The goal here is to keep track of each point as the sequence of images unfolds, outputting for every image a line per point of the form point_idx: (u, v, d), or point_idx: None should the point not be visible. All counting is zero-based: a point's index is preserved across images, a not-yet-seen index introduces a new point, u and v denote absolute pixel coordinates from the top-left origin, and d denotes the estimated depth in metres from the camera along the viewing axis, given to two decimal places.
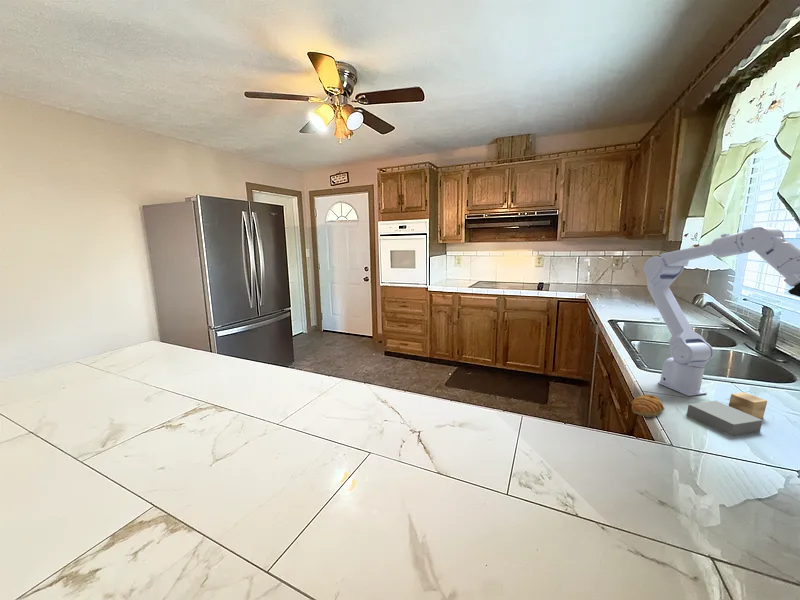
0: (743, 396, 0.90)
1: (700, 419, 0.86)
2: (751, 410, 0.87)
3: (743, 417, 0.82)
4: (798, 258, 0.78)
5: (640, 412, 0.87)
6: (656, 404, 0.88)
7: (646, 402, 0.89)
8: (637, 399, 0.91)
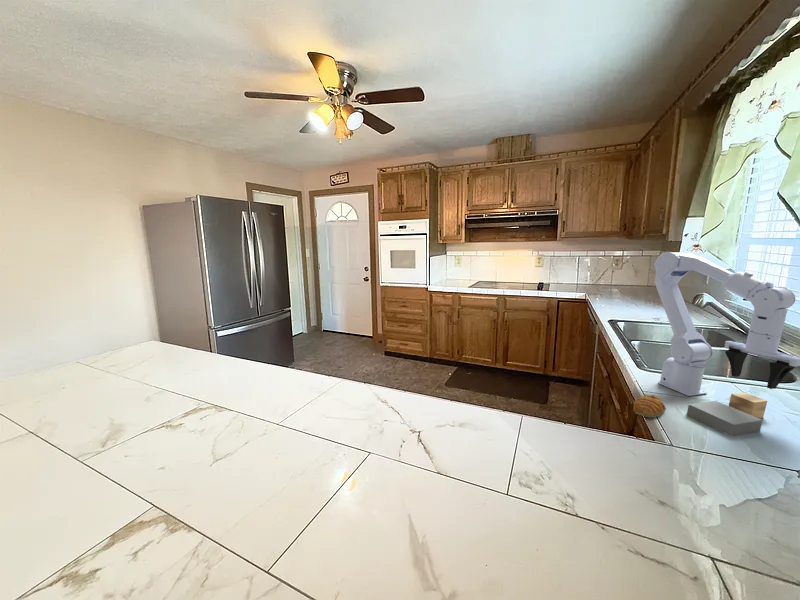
0: (743, 396, 0.90)
1: (700, 419, 0.86)
2: (751, 410, 0.87)
3: (743, 417, 0.82)
4: None
5: (641, 412, 0.87)
6: (658, 404, 0.88)
7: (647, 403, 0.89)
8: (639, 399, 0.91)
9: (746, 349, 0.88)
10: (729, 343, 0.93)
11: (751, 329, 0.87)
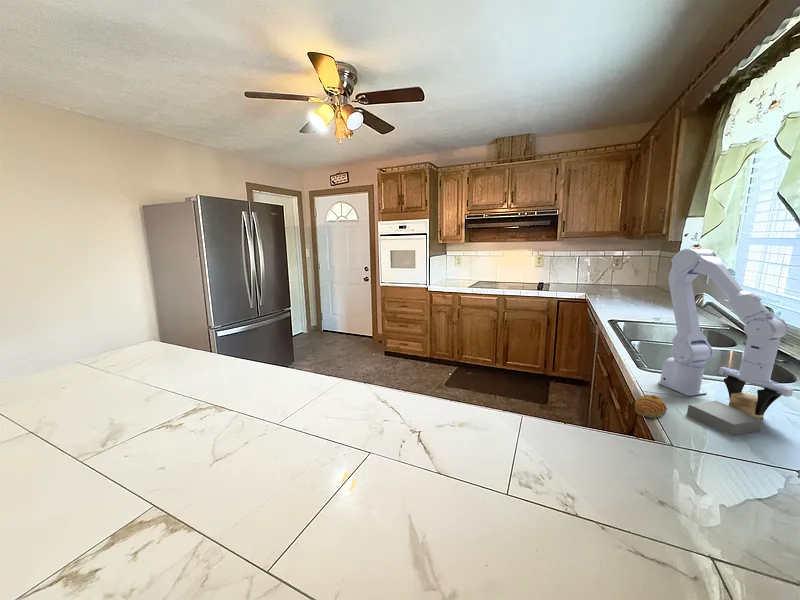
0: (743, 396, 0.90)
1: (700, 419, 0.86)
2: (751, 410, 0.87)
3: (743, 417, 0.82)
4: None
5: (643, 413, 0.87)
6: (659, 405, 0.88)
7: (649, 403, 0.89)
8: (640, 400, 0.91)
9: (739, 377, 0.89)
10: (723, 370, 0.94)
11: (744, 357, 0.88)
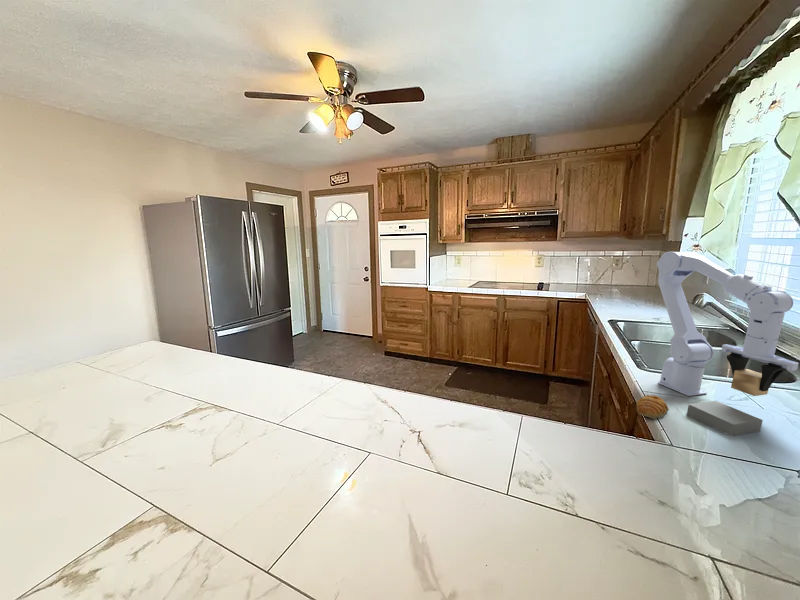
0: (747, 372, 0.88)
1: (700, 419, 0.86)
2: (755, 386, 0.85)
3: (743, 417, 0.82)
4: None
5: (645, 413, 0.87)
6: (661, 405, 0.88)
7: (651, 403, 0.88)
8: (641, 400, 0.91)
9: (743, 353, 0.87)
10: (726, 347, 0.92)
11: (747, 333, 0.87)
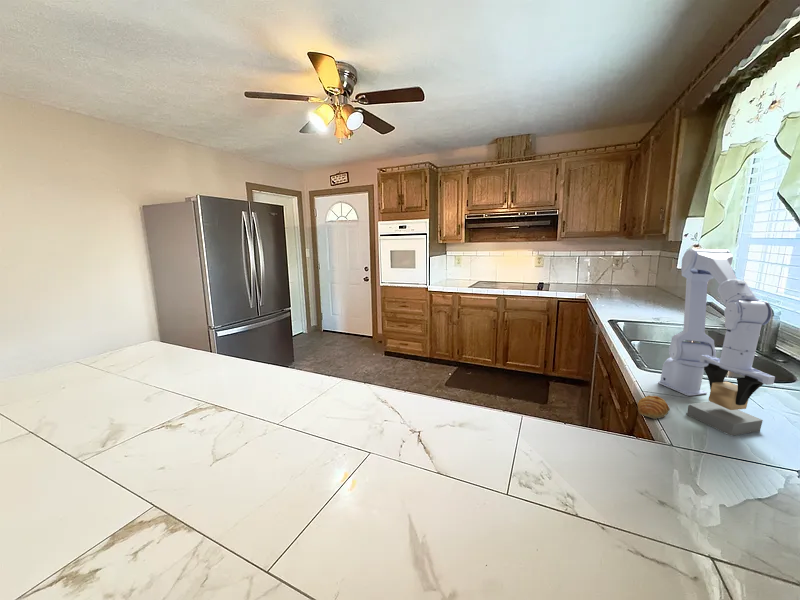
0: (724, 385, 0.84)
1: (700, 419, 0.86)
2: (732, 399, 0.81)
3: (743, 417, 0.82)
4: None
5: (647, 414, 0.86)
6: (662, 405, 0.88)
7: (652, 404, 0.88)
8: (643, 400, 0.91)
9: (719, 364, 0.84)
10: (704, 357, 0.88)
11: None
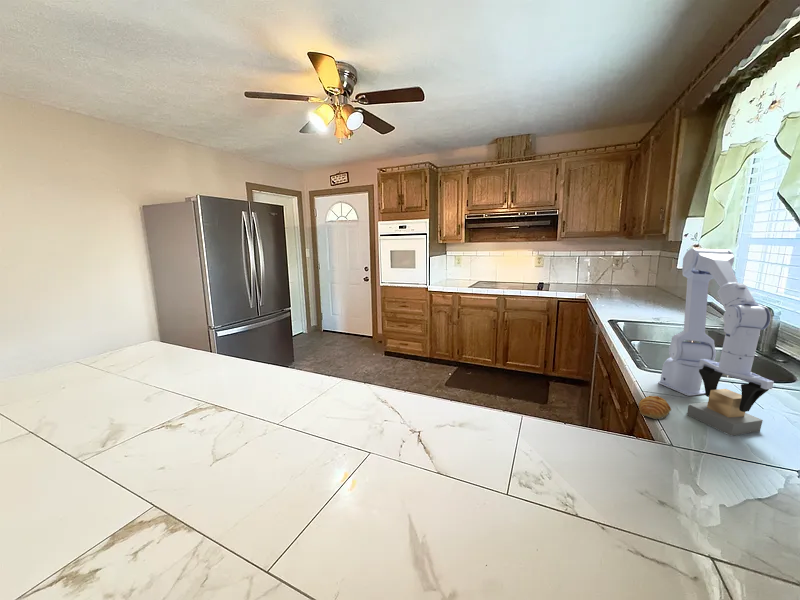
0: (723, 392, 0.85)
1: (700, 419, 0.86)
2: (730, 407, 0.82)
3: (743, 417, 0.82)
4: None
5: (648, 414, 0.86)
6: (664, 405, 0.88)
7: (654, 404, 0.88)
8: (644, 401, 0.90)
9: (718, 369, 0.84)
10: (703, 361, 0.89)
11: None
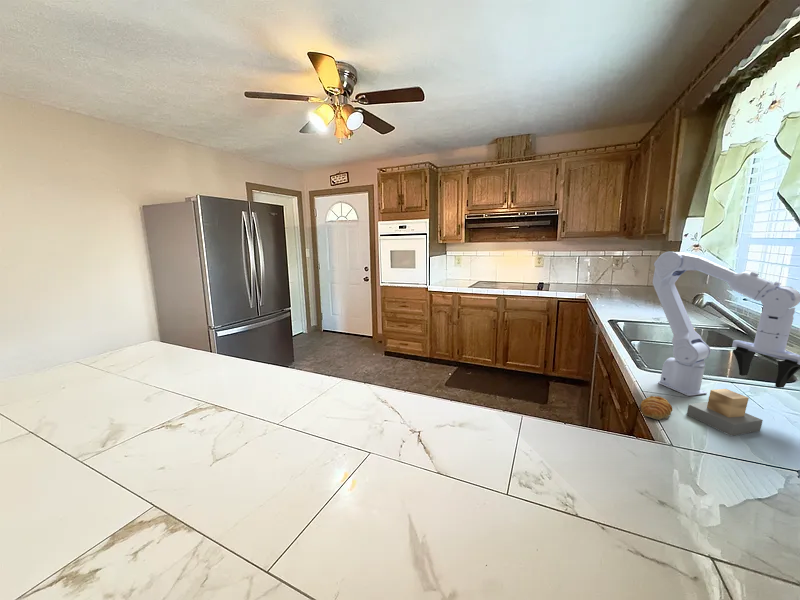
0: (723, 392, 0.85)
1: (700, 419, 0.86)
2: (730, 407, 0.82)
3: (743, 417, 0.82)
4: None
5: (651, 415, 0.86)
6: (666, 406, 0.87)
7: (656, 405, 0.88)
8: (646, 401, 0.90)
9: (754, 348, 0.89)
10: (737, 342, 0.93)
11: (761, 329, 0.87)
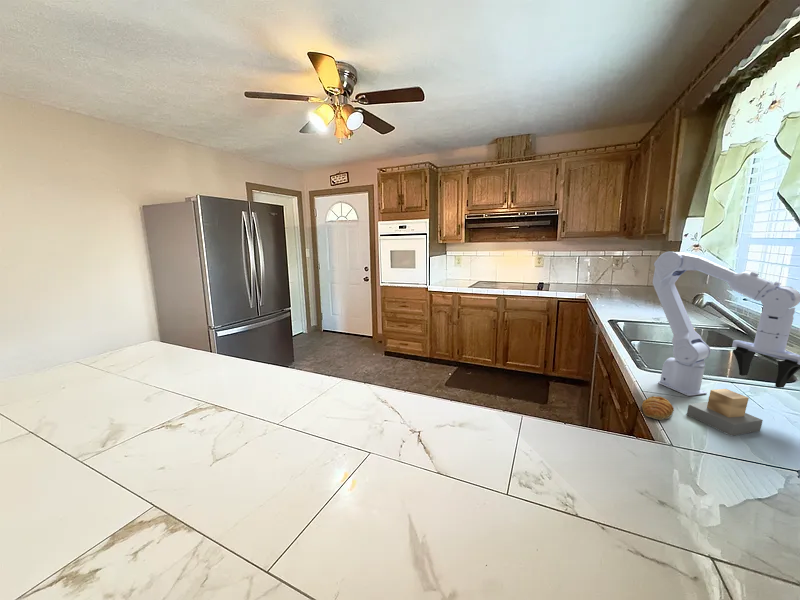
0: (723, 392, 0.85)
1: (700, 419, 0.86)
2: (730, 407, 0.82)
3: (743, 417, 0.82)
4: None
5: (653, 415, 0.86)
6: (667, 406, 0.87)
7: (657, 405, 0.88)
8: (647, 402, 0.90)
9: (754, 348, 0.89)
10: (737, 342, 0.93)
11: (761, 329, 0.87)
